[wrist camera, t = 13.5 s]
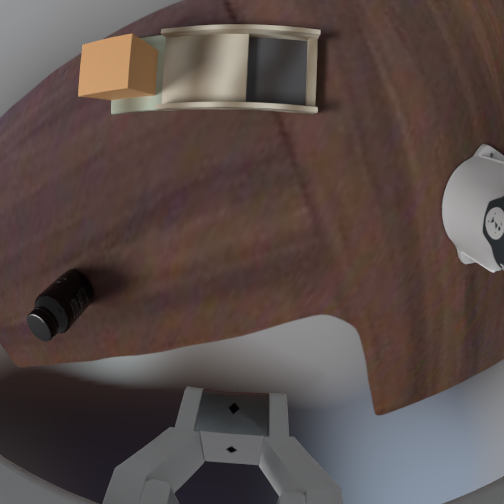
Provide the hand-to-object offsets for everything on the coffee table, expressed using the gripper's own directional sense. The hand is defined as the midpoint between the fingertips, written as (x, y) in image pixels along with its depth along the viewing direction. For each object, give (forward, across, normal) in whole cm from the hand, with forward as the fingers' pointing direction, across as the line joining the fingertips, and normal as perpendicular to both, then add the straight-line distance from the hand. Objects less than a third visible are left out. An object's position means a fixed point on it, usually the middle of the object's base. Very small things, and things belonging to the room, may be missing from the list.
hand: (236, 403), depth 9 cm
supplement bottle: (+31, +29, +16) cm, 46 cm away
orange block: (+30, +16, -15) cm, 37 cm away
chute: (+31, +6, -16) cm, 35 cm away
